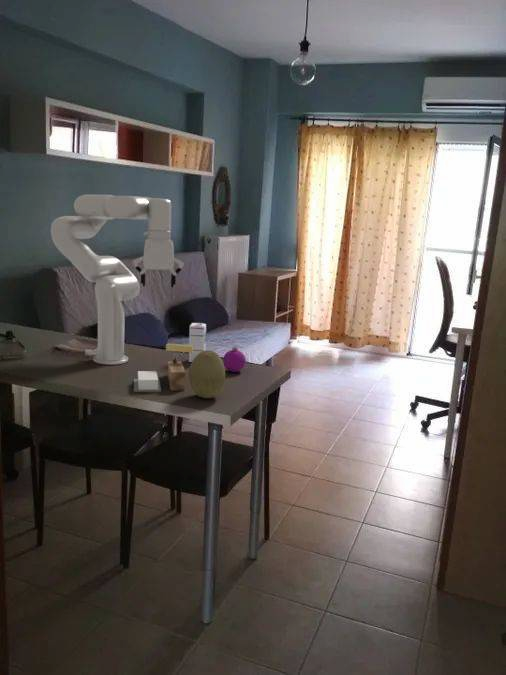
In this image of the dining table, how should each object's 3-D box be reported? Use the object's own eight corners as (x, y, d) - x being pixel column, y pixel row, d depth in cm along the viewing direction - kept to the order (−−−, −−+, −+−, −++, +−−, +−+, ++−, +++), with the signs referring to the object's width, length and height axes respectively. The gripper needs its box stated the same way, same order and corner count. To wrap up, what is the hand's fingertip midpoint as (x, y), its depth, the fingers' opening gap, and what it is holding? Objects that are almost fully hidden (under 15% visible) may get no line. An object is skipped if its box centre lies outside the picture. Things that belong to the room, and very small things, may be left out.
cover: (138, 389, 186) (138, 379, 185) (137, 380, 195) (137, 371, 195) (157, 389, 187) (158, 379, 186) (156, 380, 197) (156, 371, 196)
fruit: (181, 398, 181) (183, 351, 178) (197, 389, 192) (199, 344, 188) (215, 405, 177) (217, 356, 174) (230, 395, 188) (232, 349, 185)
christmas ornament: (222, 368, 219) (223, 341, 217) (244, 368, 220) (245, 342, 218) (222, 374, 211) (224, 347, 209) (245, 375, 212) (247, 347, 210)
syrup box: (203, 363, 223) (205, 326, 220) (188, 362, 223) (189, 325, 220) (205, 360, 229) (206, 323, 226) (190, 359, 229) (191, 322, 226)
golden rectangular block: (191, 365, 200) (192, 346, 199) (165, 362, 201) (166, 344, 200) (192, 363, 202) (193, 345, 201) (167, 361, 203) (167, 343, 202)
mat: (133, 391, 185) (134, 390, 185) (133, 380, 197) (133, 379, 196) (161, 391, 187) (161, 390, 187) (159, 380, 198) (159, 379, 198)
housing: (170, 390, 189) (171, 372, 188) (167, 375, 206) (168, 358, 204) (184, 390, 190) (185, 372, 188) (180, 375, 206) (180, 358, 205)
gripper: (133, 235, 194) (132, 287, 198) (185, 237, 198) (184, 288, 201) (133, 234, 201) (132, 284, 205) (184, 236, 205) (182, 285, 209)
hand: (158, 286), depth 203 cm, fingers open, 9 cm apart
